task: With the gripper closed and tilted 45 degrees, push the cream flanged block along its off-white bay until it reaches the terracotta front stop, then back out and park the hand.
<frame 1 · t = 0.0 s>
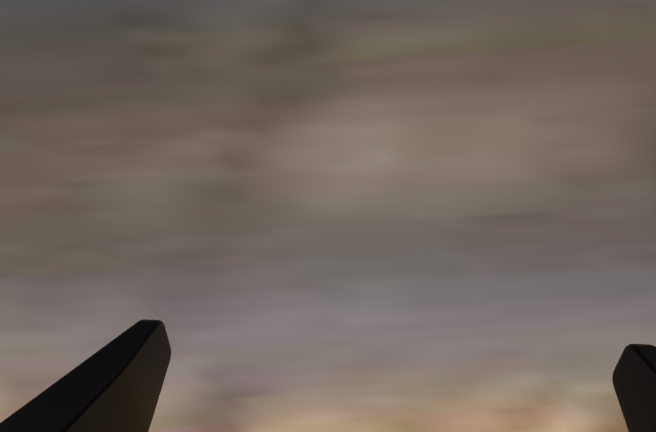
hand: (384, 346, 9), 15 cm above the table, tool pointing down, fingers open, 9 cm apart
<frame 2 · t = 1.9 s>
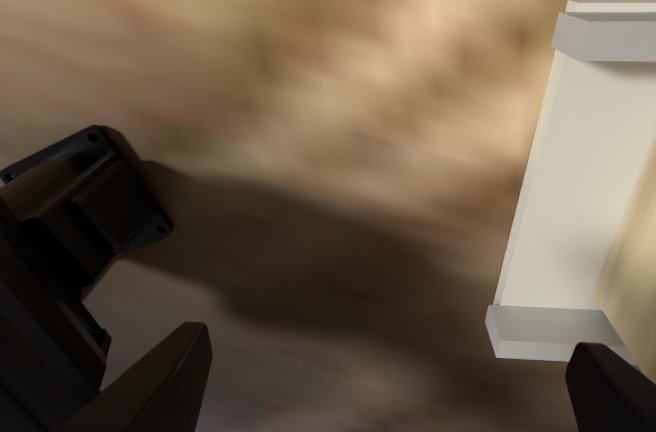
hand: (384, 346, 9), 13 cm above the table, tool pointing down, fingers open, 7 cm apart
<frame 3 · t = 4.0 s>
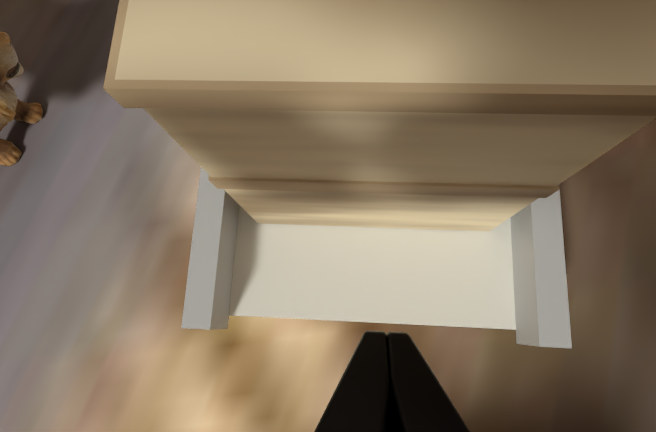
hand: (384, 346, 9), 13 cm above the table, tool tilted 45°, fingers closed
cream flanged block: (380, 103, 15), point 8 cm above the table, slide at 0.0 cm
bay: (373, 145, 23), on the table
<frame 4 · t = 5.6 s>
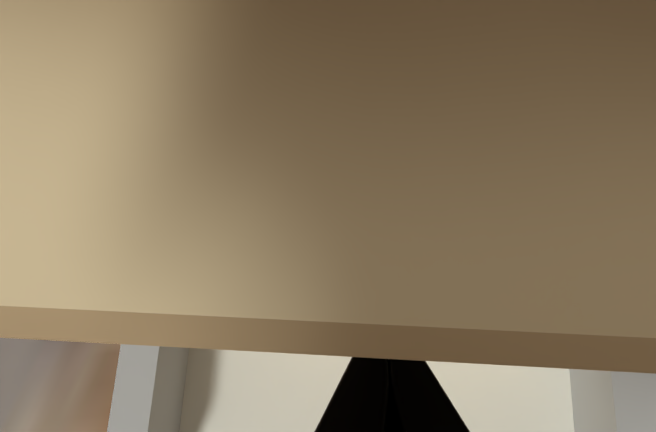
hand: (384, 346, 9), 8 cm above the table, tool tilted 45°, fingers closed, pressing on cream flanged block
cream flanged block: (388, 188, 10), point 8 cm above the table, slide at 0.6 cm, touching gripper
bay: (375, 223, 17), on the table
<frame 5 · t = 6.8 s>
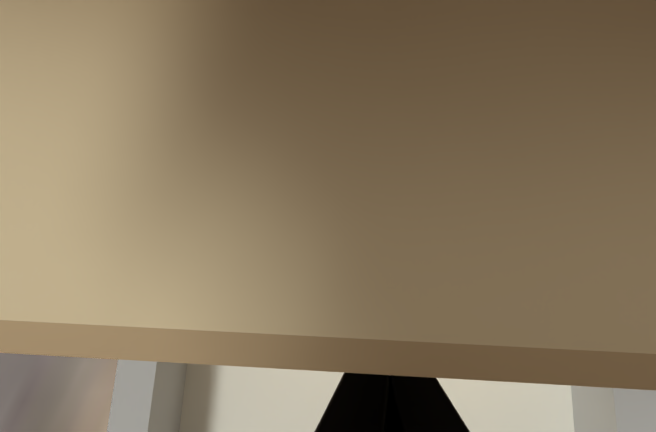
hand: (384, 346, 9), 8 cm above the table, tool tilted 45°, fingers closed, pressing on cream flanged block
cream flanged block: (388, 189, 10), point 8 cm above the table, slide at 6.2 cm, touching gripper
bay: (371, 373, 16), on the table
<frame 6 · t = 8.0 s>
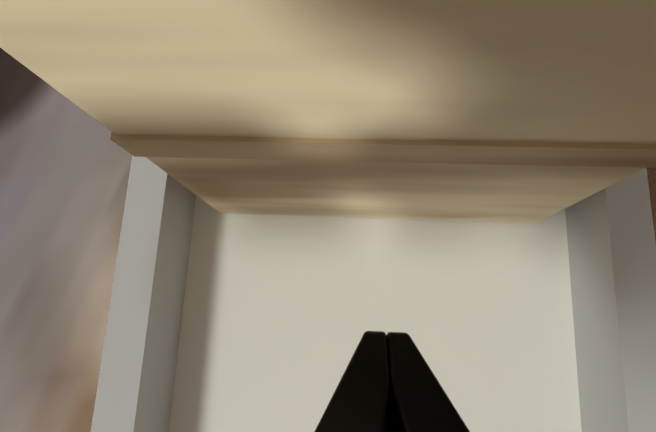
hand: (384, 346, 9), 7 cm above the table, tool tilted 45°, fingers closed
cream flanged block: (389, 20, 10), point 8 cm above the table, slide at 6.0 cm
bay: (372, 262, 16), on the table
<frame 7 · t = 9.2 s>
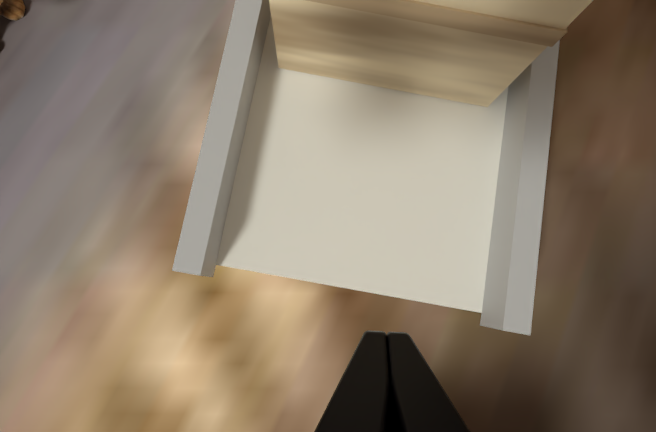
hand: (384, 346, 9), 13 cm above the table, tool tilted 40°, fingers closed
bay: (375, 121, 24), on the table
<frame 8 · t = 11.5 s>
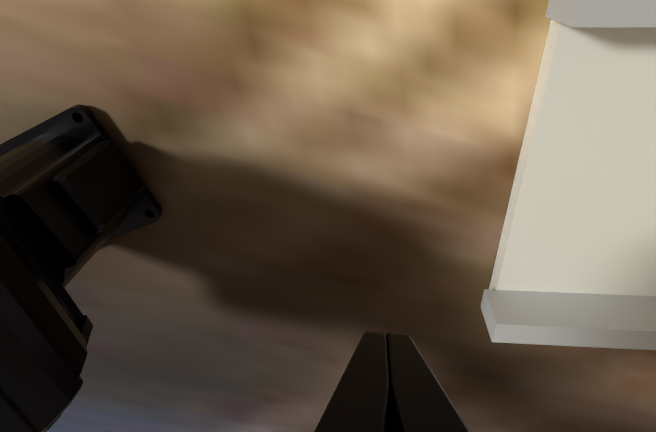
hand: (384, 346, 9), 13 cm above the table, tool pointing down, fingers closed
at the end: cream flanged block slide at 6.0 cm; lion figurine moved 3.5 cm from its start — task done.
